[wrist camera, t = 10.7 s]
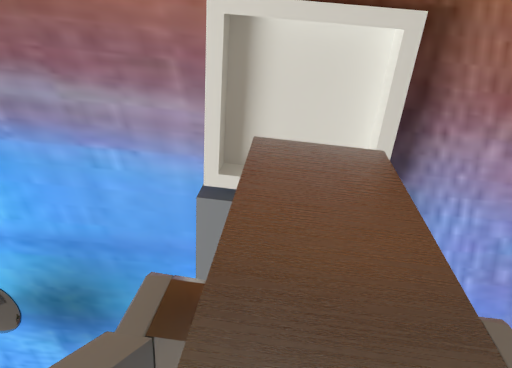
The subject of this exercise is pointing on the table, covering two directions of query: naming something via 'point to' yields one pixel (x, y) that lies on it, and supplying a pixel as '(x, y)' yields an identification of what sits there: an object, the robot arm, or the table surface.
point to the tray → (303, 77)
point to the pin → (330, 272)
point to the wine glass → (8, 313)
